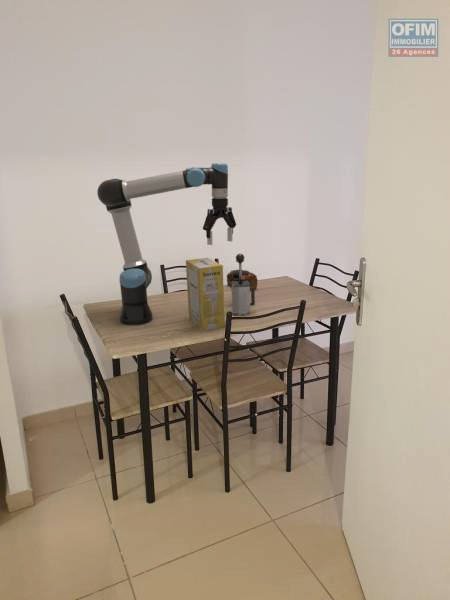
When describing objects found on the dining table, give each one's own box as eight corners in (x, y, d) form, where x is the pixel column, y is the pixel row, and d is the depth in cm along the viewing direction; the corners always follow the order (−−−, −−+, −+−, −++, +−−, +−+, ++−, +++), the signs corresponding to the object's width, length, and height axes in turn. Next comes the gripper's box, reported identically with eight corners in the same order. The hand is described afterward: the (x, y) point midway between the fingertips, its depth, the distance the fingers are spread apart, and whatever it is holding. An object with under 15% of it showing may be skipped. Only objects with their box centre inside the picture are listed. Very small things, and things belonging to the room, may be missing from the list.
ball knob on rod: (237, 285, 218) (236, 254, 214) (235, 283, 222) (235, 253, 218) (245, 285, 219) (245, 254, 214) (244, 283, 223) (243, 252, 218)
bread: (258, 290, 263) (257, 272, 260) (241, 292, 258) (241, 275, 255) (241, 282, 279) (241, 266, 276) (226, 285, 274) (225, 269, 271)
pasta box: (189, 318, 219) (185, 260, 211) (209, 315, 223) (207, 257, 215) (202, 330, 203) (199, 268, 195) (224, 326, 207) (222, 265, 199)
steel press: (234, 316, 220) (233, 285, 216) (231, 310, 228) (230, 281, 224) (256, 314, 221) (255, 284, 217) (252, 309, 229) (252, 279, 225)
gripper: (205, 199, 205) (206, 247, 211) (243, 196, 222) (243, 240, 229) (194, 198, 210) (195, 245, 216) (232, 195, 227) (232, 238, 234)
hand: (220, 243), depth 223 cm, fingers open, 13 cm apart
